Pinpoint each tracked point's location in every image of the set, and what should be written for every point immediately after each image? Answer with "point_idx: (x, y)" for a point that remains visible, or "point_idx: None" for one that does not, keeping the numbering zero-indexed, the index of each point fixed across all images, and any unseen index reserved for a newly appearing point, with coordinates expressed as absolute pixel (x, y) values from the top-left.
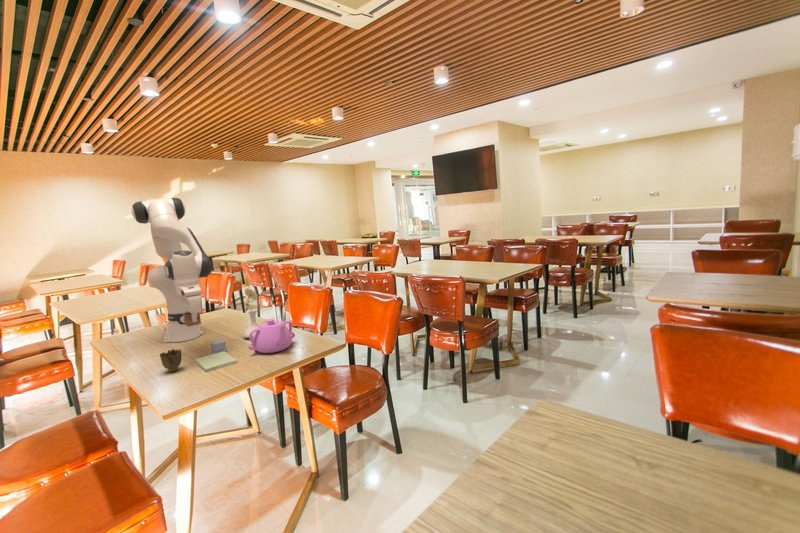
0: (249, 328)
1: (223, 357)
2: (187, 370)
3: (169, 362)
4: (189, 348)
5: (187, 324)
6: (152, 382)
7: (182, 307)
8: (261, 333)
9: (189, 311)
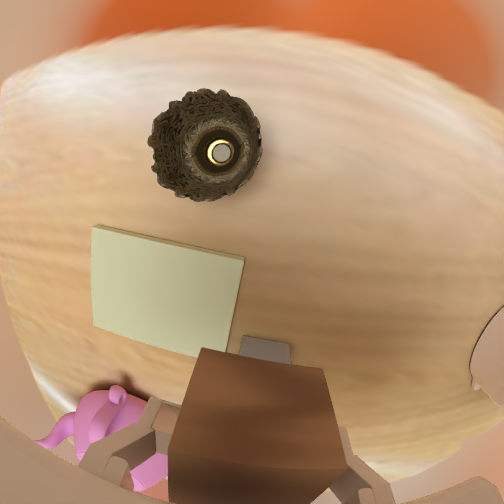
0: None
1: (151, 324)
2: (171, 191)
3: (174, 125)
4: (421, 315)
5: (209, 362)
6: (178, 66)
7: (461, 488)
8: (87, 434)
9: (42, 462)
